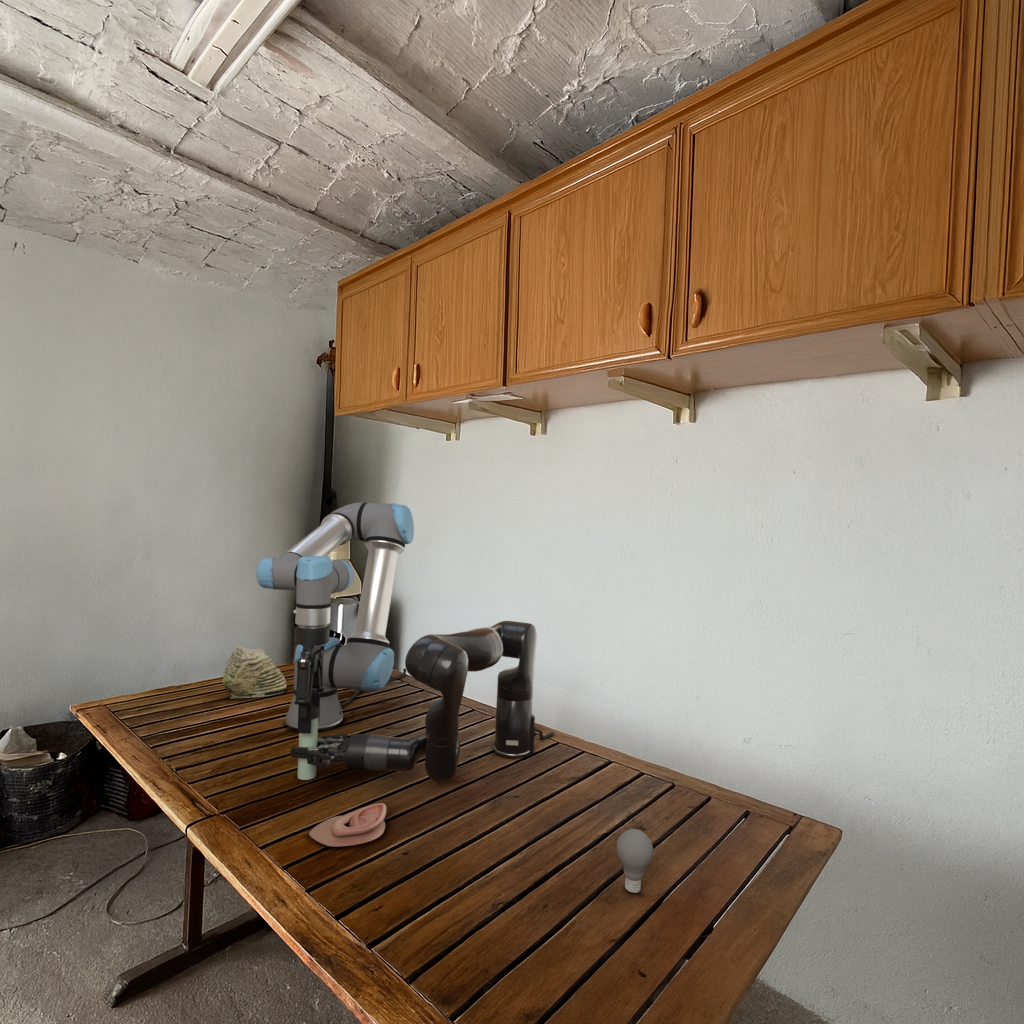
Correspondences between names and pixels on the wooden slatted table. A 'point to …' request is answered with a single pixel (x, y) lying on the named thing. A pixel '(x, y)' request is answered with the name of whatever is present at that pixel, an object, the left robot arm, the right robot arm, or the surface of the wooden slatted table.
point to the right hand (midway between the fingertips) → (295, 747)
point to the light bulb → (634, 857)
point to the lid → (315, 712)
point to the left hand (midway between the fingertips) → (308, 726)
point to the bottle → (309, 741)
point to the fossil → (252, 674)
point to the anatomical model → (352, 827)
